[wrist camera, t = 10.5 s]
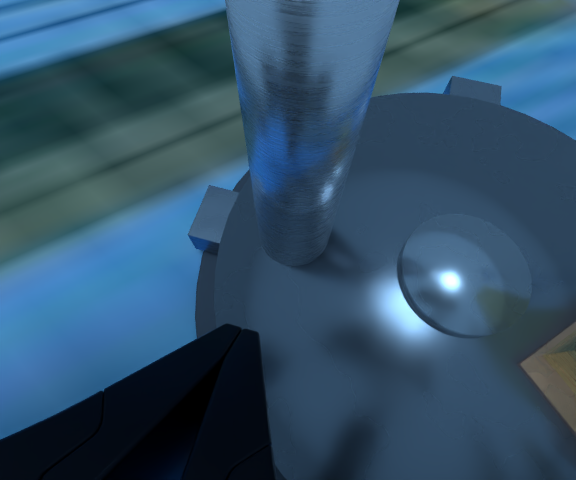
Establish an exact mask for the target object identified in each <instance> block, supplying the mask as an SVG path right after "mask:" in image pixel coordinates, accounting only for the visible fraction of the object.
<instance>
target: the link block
mask: <svg viewBox="0 0 576 480" xmlns="http://www.w3.org/2000/svg"><path fill="white" fill-rule="evenodd" d="M543 356H544V358H545V359H546V360H547V361H548V362H549V364H550V365H551V366H552V367H553V368H554V370H555V371H556V372H557V373H558V374H559V376H560V377H561V378H562V379H563V380H564V382H565V383H566V384H567V385H568V386H569V388H570V389H571V390H572V391H573V392H574V394H575V395H576V330H575V331H574V332H573V333H571V334H570V335H569V336H567V337H566V338H565V339H563V340H562V341H561V342H559V343H558V344H557V345H555V346H554V347H553V348H551V349H550V350H549V351H548V352H546V353H545V354H544V355H543Z"/></svg>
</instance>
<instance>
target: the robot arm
mask: <svg viewBox="0 0 576 480" xmlns="http://www.w3.org/2000/svg"><path fill="white" fill-rule="evenodd" d="M0 480H277V476H276V469H275V463H274V454H273V447H272V439H271V430H270V421H269V412H268V404H267V395H266V386H265V378H264V369H263V360H262V352H261V343H260V335H259V333H258V332H256V331H253V330H249V329H246V328H244V329H242V328H241V327H239V326H236V325H232V324H229V323H225V324H223V325H221V326H219V327H218V328H216V329H214V330H212V331H210V332H208V333H207V334H205V335H203V336H201V337H199V338H197V339H195V340H194V341H192V342H190V343H188V344H186V345H184V346H183V347H181V348H179V349H177V350H175V351H173V352H172V353H170V354H168V355H166V356H164V357H162V358H160V359H159V360H157V361H155V362H153V363H151V364H149V365H148V366H146V367H144V368H142V369H140V370H138V371H137V372H135V373H133V374H131V375H129V376H127V377H125V378H124V379H122V380H120V381H118V382H116V383H114V384H113V385H111V386H109V387H107V388H105V389H104V392H103V391H99V392H98V393H96V394H94V395H92V396H90V397H88V398H86V399H85V400H83V401H81V402H79V403H77V404H75V405H73V406H71V407H69V408H67V409H65V410H63V411H61V412H59V413H57V414H55V415H53V416H51V417H49V418H47V419H45V420H43V421H40V422H38V423H36V424H34V425H32V426H30V427H28V428H25V429H23V430H21V431H19V432H17V433H14V434H12V435H10V436H8V437H5V438H3V439H1V440H0Z"/></svg>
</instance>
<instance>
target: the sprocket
mask: <svg viewBox="0 0 576 480" xmlns="http://www.w3.org/2000/svg"><path fill="white" fill-rule="evenodd" d="M225 3H226V10H227V17H228V24H229V31H230V38H231V45H232V52H233V59H234V65H235V72H236V79H237V86H238V93H239V100H240V107H241V114H242V121H243V127H244V134H245V141H246V148H247V155H248V162H249V169H250V177H249V178H248V180H247V181H246V183H245V184H244V186H243V188H242V189H241V191H240V192H239V193H238V192H234V191H230V190H226V189H223V188H219V187H215V186H211V185H209V187H208V189H207V191H206V194H205V196H204V198H203V201H202V203H201V205H200V208H199V210H198V212H197V214H196V217H195V219H194V221H193V224H192V226H191V228H190V231H189V233H188V236H189V238H190V239H191V241H192V243H193V245H194V246H195V248H196V249H199V250H203V251H206V252H210V253H214V254H217V255H218V257H217V263H216V269H215V286H214V308H215V318H216V327H217V328H218V327H219V326H221V325H223V324H225V323H229V324H232V325H236V326H239V327H241V328H242V329H244V328H246V329H249V330H253V331H256V332H258V333H259V335H260V343H261V352H262V360H263V369H264V378H265V386H266V395H267V404H268V412H269V421H270V430H271V439H272V447H273V454H274V463H275V465H276V467H277V468H278V469H279V471H280V472H281V474H282V475H283V476H284V477H285V478H286V479H287V480H576V395H575V394H574V392H573V391H572V390H571V389H570V388H569V386H568V385H567V384H566V383H565V382H564V380H563V379H562V378H561V377H560V376H559V374H558V373H557V372H556V371H555V370H554V368H553V367H552V366H551V365H550V364H549V362H548V361H547V360H546V359H545V358H544V356H543V355H544V354H545V353H546V352H548V351H549V350H550V349H551V348H553V347H554V346H555V345H557V344H558V343H559V342H561V341H562V340H563V339H565V338H566V337H567V336H569V335H570V334H571V333H573V332H574V331H575V330H576V140H574V139H572V138H570V137H569V136H567V135H565V134H564V133H562V132H560V131H558V130H557V129H555V128H553V127H551V126H549V125H547V124H545V123H543V122H541V121H539V120H537V119H534V118H532V117H530V116H528V115H526V114H523V113H520V112H517V111H515V110H512V109H509V108H506V107H504V106H501V105H500V100H501V86H498V85H493V84H488V83H484V82H479V81H474V80H469V79H465V78H460V77H455V76H452V77H451V79H450V81H449V83H448V85H447V87H446V89H445V91H444V93H443V94H436V93H400V94H392V95H385V96H377V97H372V98H371V95H372V91H373V88H374V84H375V81H376V78H377V74H378V71H379V67H380V64H381V61H382V57H383V54H384V51H385V47H386V44H387V40H388V37H389V34H390V30H391V27H392V23H393V20H394V17H395V13H396V10H397V6H398V3H399V0H225Z"/></svg>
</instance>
